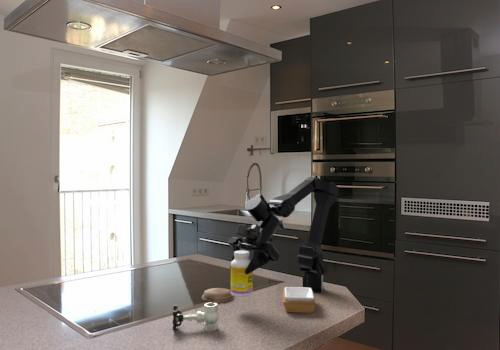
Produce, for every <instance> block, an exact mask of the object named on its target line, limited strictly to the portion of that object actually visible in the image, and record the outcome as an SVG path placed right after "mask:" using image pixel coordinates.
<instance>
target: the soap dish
mask: <svg viewBox="0 0 500 350" xmlns="http://www.w3.org/2000/svg"><path fill="white" fill-rule="evenodd" d="M282 303H283V306H284V309H285V312H287V313H303V314H304V313H305V314H312V313H314V310H315V308H316V305H317V300H316V296H315V292H313V291H312V289H311V288H308V287H303V286H285V287H284V289H283V290H282Z"/></svg>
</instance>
